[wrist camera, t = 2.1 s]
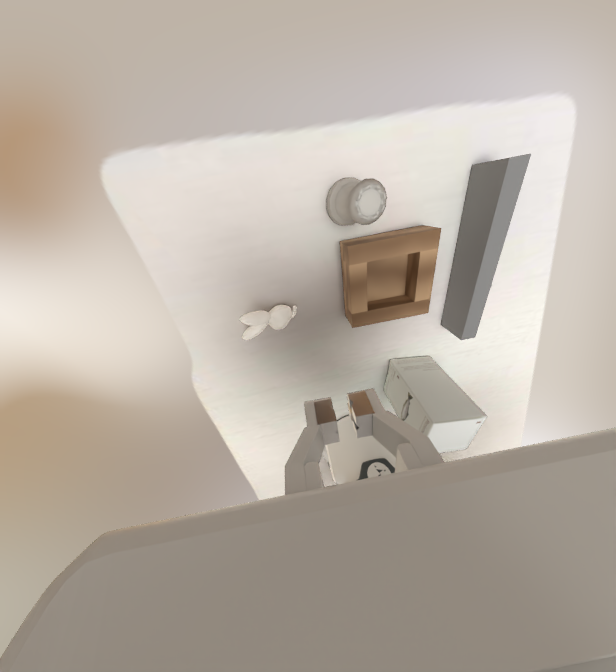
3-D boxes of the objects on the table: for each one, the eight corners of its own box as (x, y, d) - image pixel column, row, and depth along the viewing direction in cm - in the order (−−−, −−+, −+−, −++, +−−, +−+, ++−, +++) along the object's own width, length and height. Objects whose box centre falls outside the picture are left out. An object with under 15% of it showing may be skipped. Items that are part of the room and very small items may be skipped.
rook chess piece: (362, 172, 23) (398, 159, 16) (367, 219, 25) (399, 225, 18) (321, 184, 23) (339, 176, 16) (329, 230, 25) (348, 240, 18)
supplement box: (388, 358, 36) (434, 423, 26) (430, 354, 37) (491, 416, 26) (381, 389, 40) (418, 457, 30) (419, 386, 41) (468, 451, 30)
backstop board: (453, 322, 34) (475, 337, 30) (440, 324, 34) (461, 340, 30) (490, 161, 23) (531, 153, 20) (472, 165, 23) (509, 157, 19)
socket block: (413, 302, 31) (428, 312, 28) (345, 315, 31) (352, 327, 28) (422, 225, 26) (441, 228, 23) (339, 241, 26) (347, 246, 23)
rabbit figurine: (296, 330, 32) (244, 351, 28) (284, 309, 33) (232, 326, 29) (307, 308, 27) (244, 330, 23) (292, 283, 28) (230, 301, 24)
